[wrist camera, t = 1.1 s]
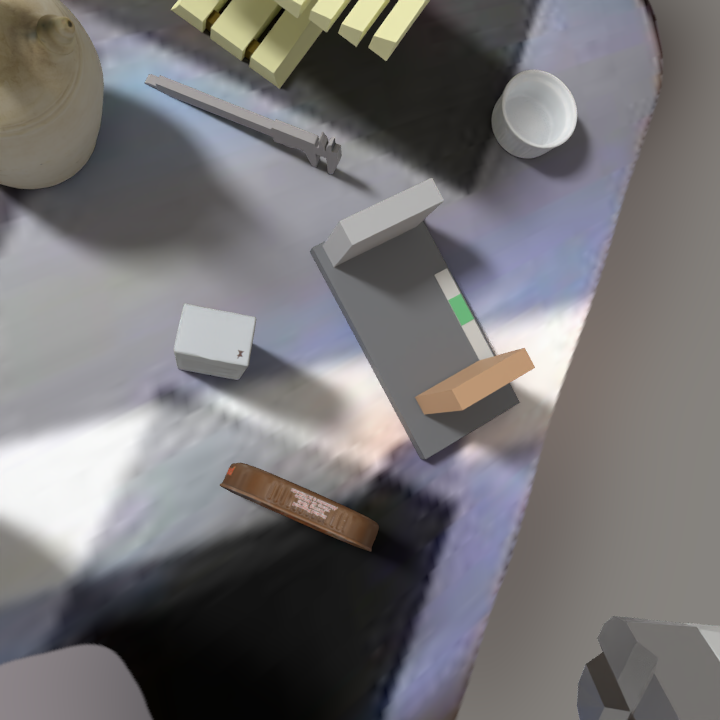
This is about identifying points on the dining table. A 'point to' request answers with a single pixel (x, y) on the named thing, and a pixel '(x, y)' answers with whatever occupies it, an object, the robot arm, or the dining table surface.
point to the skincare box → (214, 342)
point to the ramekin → (534, 114)
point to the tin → (301, 505)
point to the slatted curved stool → (294, 28)
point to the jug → (46, 94)
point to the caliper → (255, 122)
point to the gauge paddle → (475, 382)
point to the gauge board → (408, 313)
